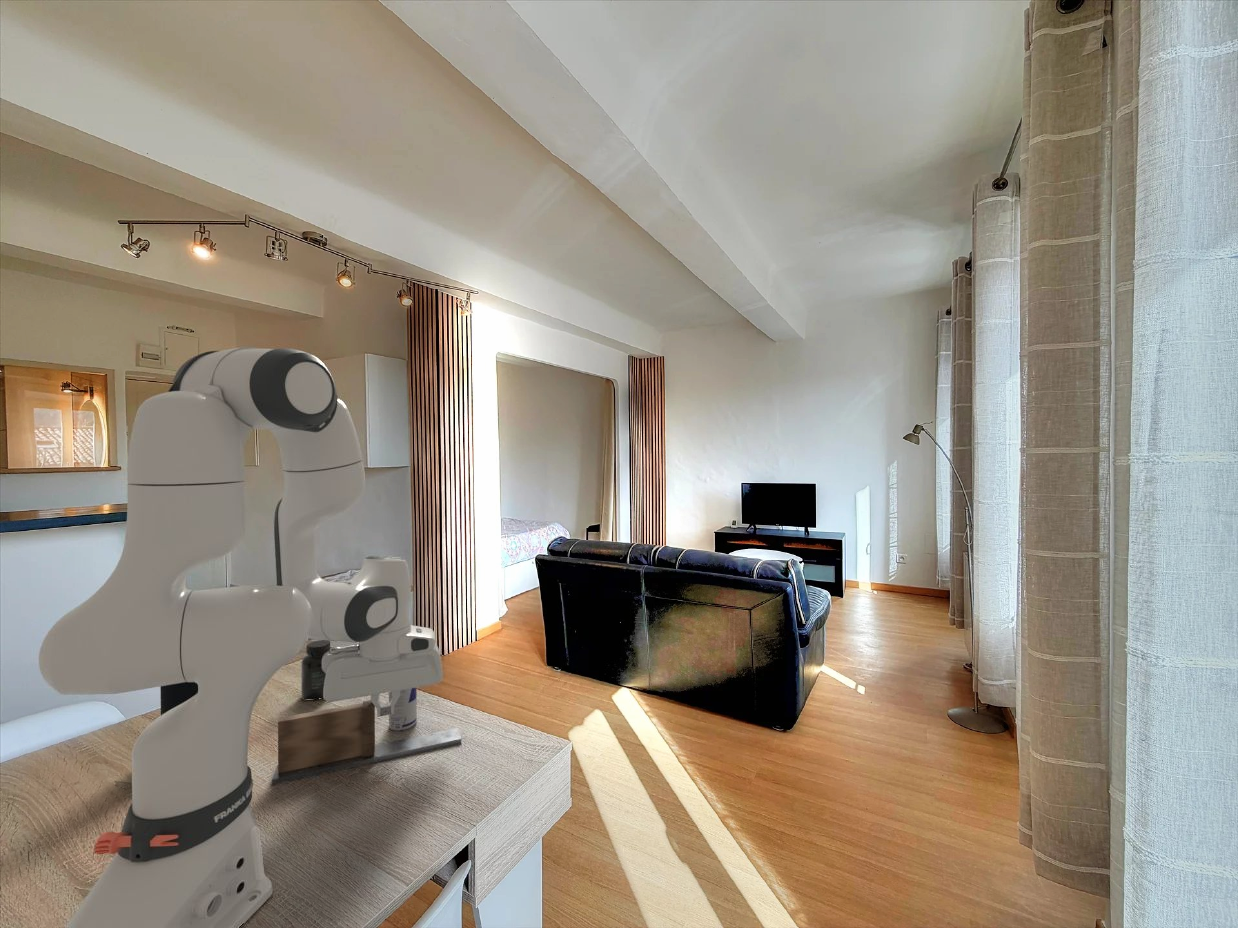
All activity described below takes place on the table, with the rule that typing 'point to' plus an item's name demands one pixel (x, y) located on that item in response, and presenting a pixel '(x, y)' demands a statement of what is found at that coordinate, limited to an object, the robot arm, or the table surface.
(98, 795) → the table surface
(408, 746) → the screen rail
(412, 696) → the energy drink
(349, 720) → the walnut screen
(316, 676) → the supplement bottle
